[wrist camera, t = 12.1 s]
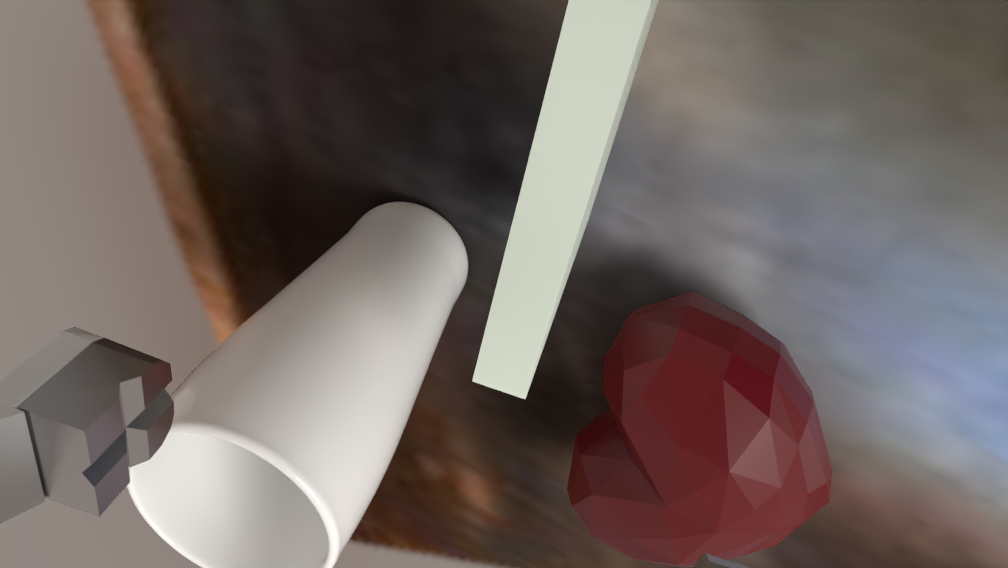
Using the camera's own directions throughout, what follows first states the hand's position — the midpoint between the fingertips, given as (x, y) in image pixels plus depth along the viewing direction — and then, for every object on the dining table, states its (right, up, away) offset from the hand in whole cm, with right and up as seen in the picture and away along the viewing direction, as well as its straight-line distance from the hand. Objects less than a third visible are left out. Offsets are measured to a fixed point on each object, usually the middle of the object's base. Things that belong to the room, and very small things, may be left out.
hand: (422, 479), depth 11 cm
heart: (+10, -2, +22) cm, 25 cm away
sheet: (+5, +10, +16) cm, 20 cm away
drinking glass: (-3, +4, +23) cm, 23 cm away
